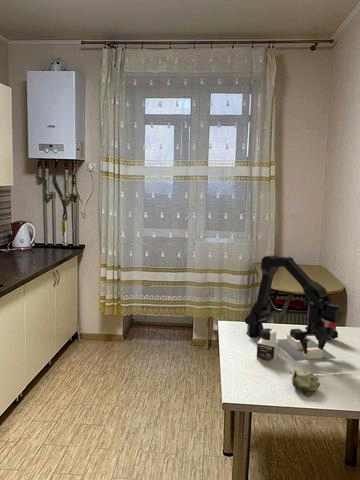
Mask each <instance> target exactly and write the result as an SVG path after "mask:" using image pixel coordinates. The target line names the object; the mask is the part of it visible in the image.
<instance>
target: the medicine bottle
mask: <svg viewBox="0 0 360 480" xmlns="http://www.w3.org/2000/svg"><path fill="white" fill-rule="evenodd" d="M279 347H280V346H279V341H278V340H277V331H276V330H275V329H273V328H268V327H267V328H263V329H262V330H261V337H260V339H259V340H258V341H257V342H256V360H259V361H264V362H268V363H270V362H272V363H274V362H275V361H276V360H277V358H278V357H279V349H280V348H279Z"/></svg>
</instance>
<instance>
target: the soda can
mask: <svg viewBox="0 0 360 480" xmlns="http://www.w3.org/2000/svg"><path fill="white" fill-rule="evenodd" d="M322 320H323V321H324V326H325V327H332V328H333V329H334V330H336V331H337V323H333V322H330V321H326V320H324V319H323V318H322ZM330 338H331V337H330ZM335 339H336V338H331V340H329V341H328V342H332V341H335Z"/></svg>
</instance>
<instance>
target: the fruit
mask: <svg viewBox="0 0 360 480" xmlns="http://www.w3.org/2000/svg"><path fill="white" fill-rule="evenodd" d="M289 374H291V375H292V379H291V380H292V386H293V387H294V388H295V389H296V390H299V391H300V392H302V393H303V394H304V396H305V397H307V398H310V397H311V396H312V395H313V394H314V393H315V392H317V390H318V389H319V388H320V386H321V382H320V381H319V377H317V376H315V375H314V373H313V372H311V371H309V370H308V369H306V370H304V371H300V370H297V369H294V371H293V372H291V371H289Z"/></svg>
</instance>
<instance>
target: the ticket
mask: <svg viewBox="0 0 360 480" xmlns="http://www.w3.org/2000/svg"><path fill="white" fill-rule="evenodd" d="M286 339H287V341H288V342H289V343H290V344H291V345H292V346H294V347H295V348H296V349H303V348H302V345H301V342H300V340H295V339H294V338H293V337H291V336H290V333H287V334H286ZM307 347H310V341H308V342H307Z"/></svg>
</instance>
